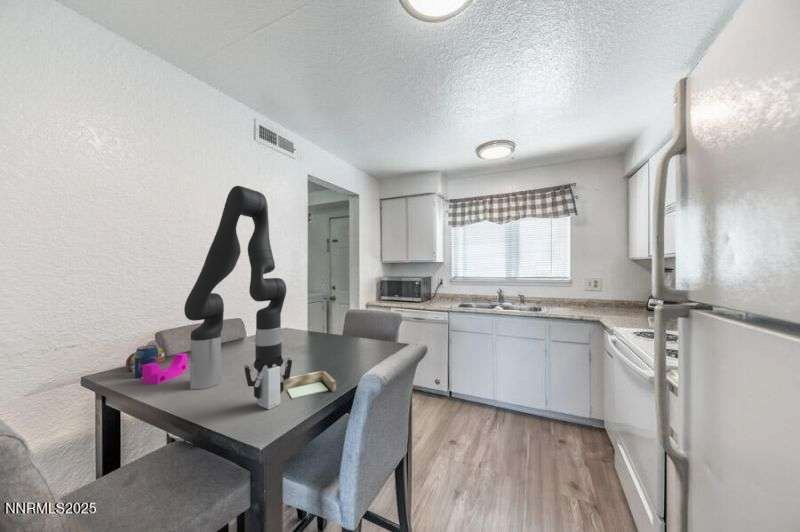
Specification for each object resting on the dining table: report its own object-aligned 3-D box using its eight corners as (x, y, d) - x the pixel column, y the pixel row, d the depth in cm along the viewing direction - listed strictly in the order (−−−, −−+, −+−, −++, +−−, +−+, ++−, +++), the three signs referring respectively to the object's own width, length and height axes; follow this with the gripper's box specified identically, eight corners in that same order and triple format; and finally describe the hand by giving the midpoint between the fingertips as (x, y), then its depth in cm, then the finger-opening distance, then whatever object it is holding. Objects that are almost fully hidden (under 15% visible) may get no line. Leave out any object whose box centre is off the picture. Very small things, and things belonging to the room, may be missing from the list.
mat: (292, 399, 95) (292, 398, 95) (287, 390, 102) (287, 389, 102) (327, 390, 101) (327, 389, 101) (320, 382, 108) (320, 381, 108)
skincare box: (280, 404, 91) (280, 366, 91) (268, 410, 88) (268, 370, 88) (269, 399, 95) (269, 363, 95) (256, 405, 91) (256, 366, 91)
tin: (130, 375, 117) (130, 354, 117) (124, 375, 117) (124, 354, 117) (166, 363, 132) (166, 344, 132) (161, 362, 132) (161, 344, 132)
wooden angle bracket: (286, 403, 92) (286, 392, 92) (279, 389, 103) (279, 379, 103) (336, 391, 101) (336, 381, 101) (324, 379, 112) (324, 370, 112)
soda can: (139, 382, 110) (139, 350, 110) (131, 378, 113) (131, 347, 113) (161, 376, 116) (161, 346, 116) (153, 373, 119) (153, 343, 119)
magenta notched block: (157, 386, 106) (157, 366, 106) (142, 385, 107) (142, 365, 107) (192, 372, 121) (192, 354, 121) (179, 371, 122) (179, 353, 122)
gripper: (243, 348, 84) (244, 406, 84) (295, 341, 92) (295, 394, 92) (241, 342, 91) (242, 396, 91) (290, 336, 98) (290, 386, 98)
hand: (268, 395), depth 91 cm, fingers closed on skincare box, 5 cm apart
